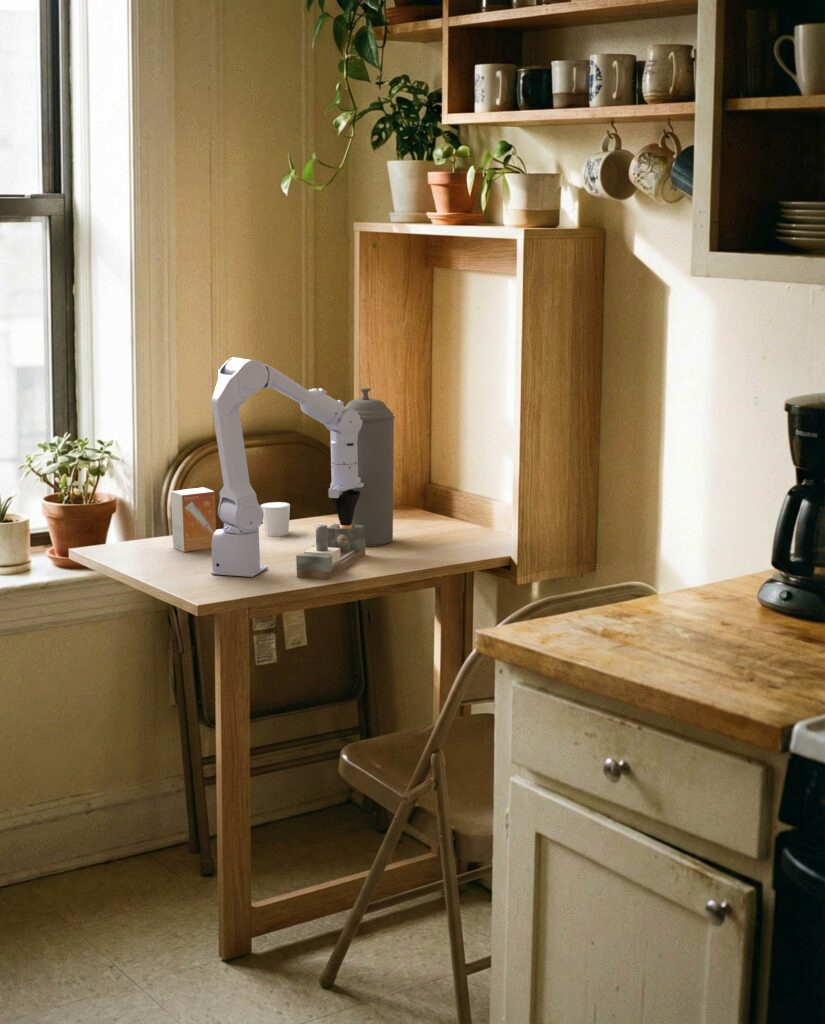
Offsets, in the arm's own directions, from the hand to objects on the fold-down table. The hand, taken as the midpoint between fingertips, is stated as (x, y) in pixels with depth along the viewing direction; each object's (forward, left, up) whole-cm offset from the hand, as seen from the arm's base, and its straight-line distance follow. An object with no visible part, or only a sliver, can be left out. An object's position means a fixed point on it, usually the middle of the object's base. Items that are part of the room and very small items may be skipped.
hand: (346, 524), depth 292 cm
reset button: (0, 0, -3) cm, 3 cm away
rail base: (0, -9, -7) cm, 11 cm away
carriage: (0, -14, -5) cm, 15 cm away
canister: (0, +14, -7) cm, 16 cm away
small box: (-36, -1, -7) cm, 37 cm away
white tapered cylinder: (-24, +17, -7) cm, 30 cm away
